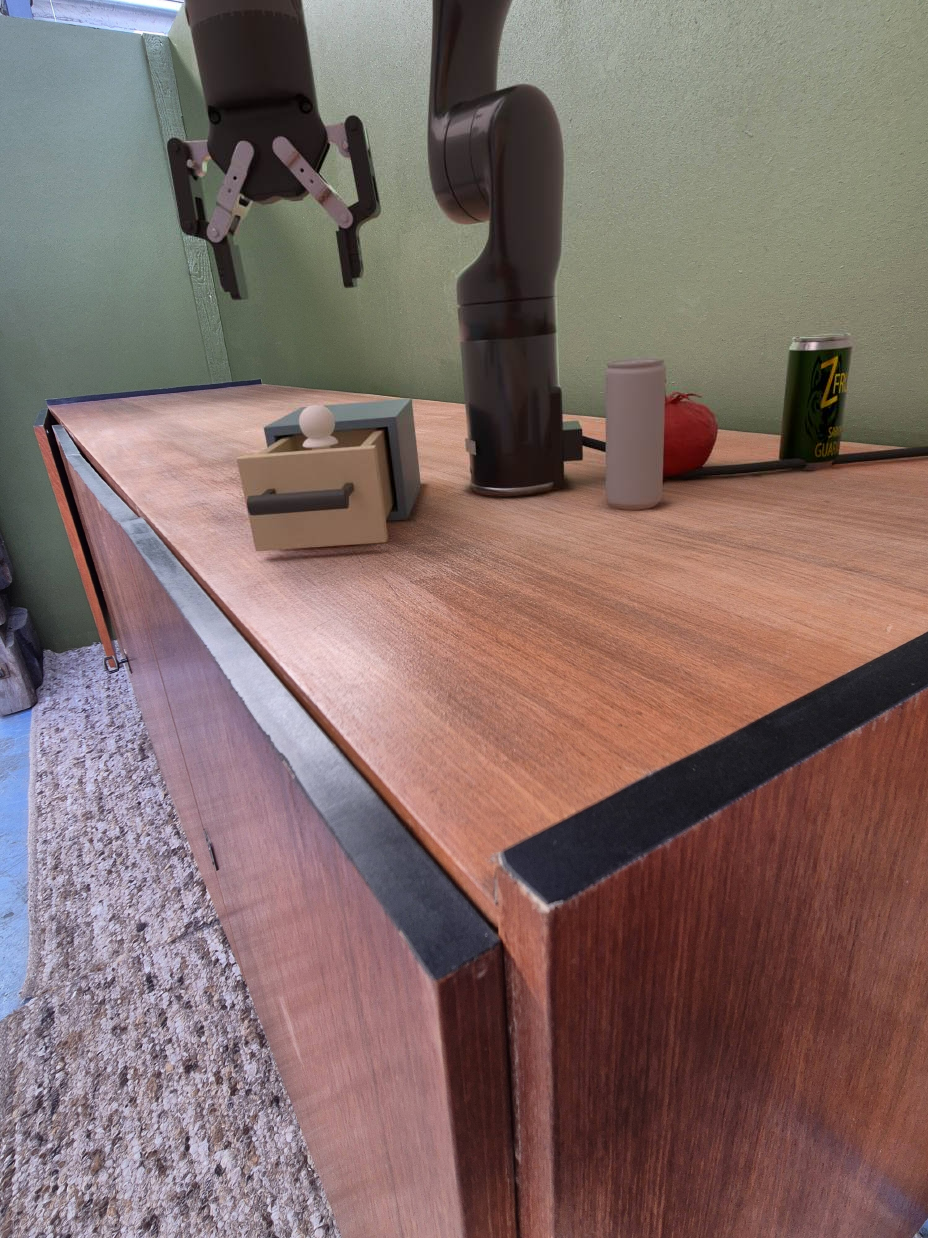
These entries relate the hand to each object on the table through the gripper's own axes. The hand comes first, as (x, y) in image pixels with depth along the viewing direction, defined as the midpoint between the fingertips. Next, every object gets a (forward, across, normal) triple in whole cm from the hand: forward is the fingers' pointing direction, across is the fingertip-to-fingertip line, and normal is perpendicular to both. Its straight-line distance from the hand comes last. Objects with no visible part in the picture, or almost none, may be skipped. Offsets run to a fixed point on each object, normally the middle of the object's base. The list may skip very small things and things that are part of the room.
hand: (295, 293), depth 54 cm
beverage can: (+20, -26, -3) cm, 33 cm away
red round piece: (+20, -31, -14) cm, 39 cm away
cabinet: (+19, 0, -10) cm, 22 cm away
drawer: (+18, 0, +2) cm, 18 cm away
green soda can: (+20, -45, -13) cm, 51 cm away
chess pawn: (+17, 0, +1) cm, 17 cm away
